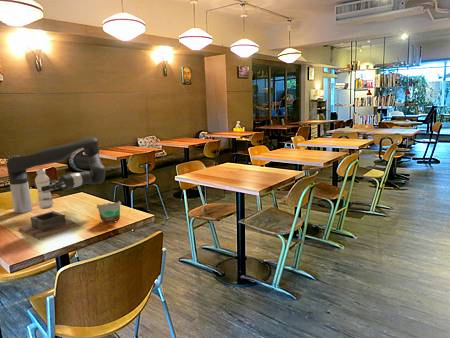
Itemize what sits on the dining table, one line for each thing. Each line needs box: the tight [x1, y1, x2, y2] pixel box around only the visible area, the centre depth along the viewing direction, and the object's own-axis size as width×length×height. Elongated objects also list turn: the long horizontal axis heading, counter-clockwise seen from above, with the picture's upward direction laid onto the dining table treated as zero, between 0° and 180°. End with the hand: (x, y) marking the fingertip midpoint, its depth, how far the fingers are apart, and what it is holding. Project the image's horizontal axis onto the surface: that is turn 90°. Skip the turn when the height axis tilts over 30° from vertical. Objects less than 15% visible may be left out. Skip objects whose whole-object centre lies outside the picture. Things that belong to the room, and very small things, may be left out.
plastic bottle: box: [34, 168, 54, 210], centre depth 171 cm, size 6×7×20 cm
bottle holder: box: [18, 210, 80, 240], centre depth 174 cm, size 22×20×6 cm
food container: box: [96, 200, 122, 224], centre depth 180 cm, size 12×6×10 cm, turn 117°
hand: (38, 188), depth 169 cm, fingers closed on plastic bottle, 6 cm apart
